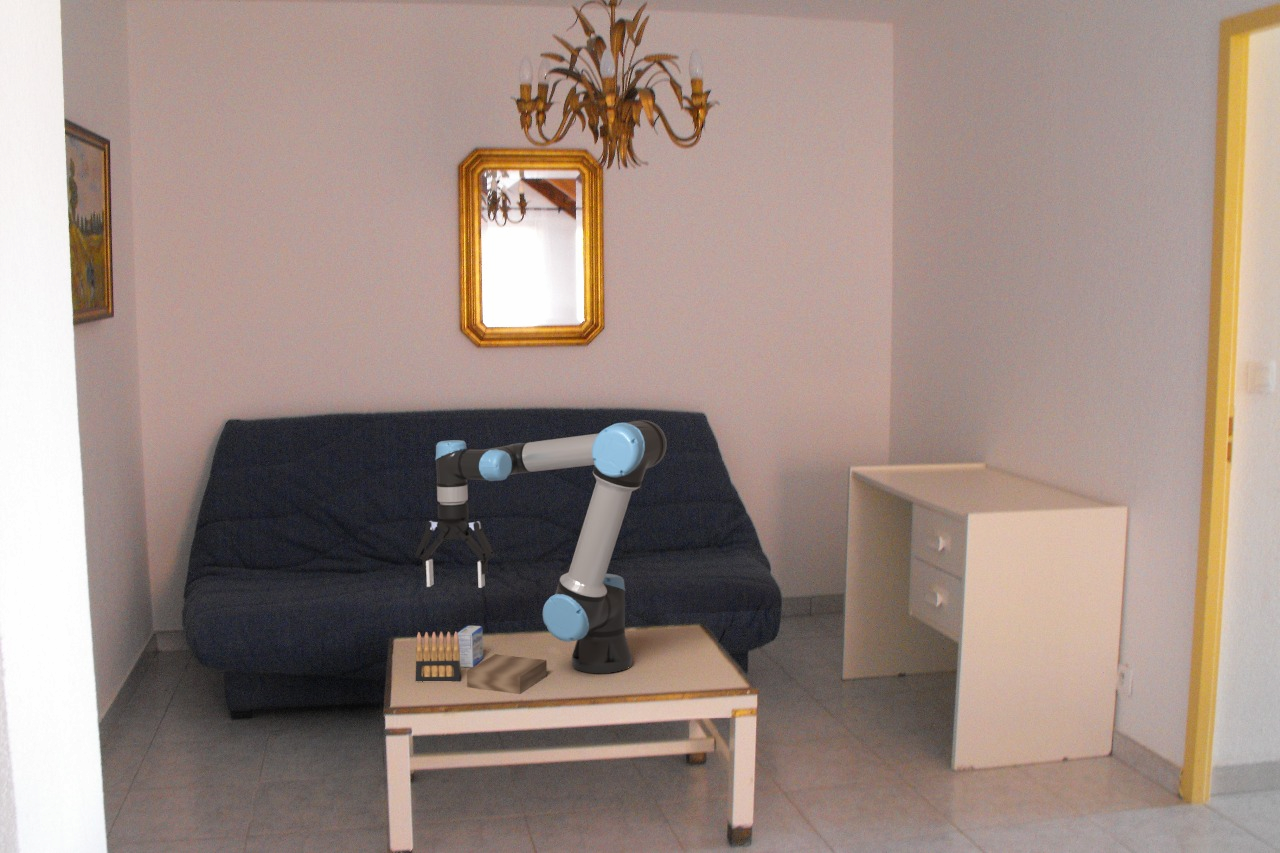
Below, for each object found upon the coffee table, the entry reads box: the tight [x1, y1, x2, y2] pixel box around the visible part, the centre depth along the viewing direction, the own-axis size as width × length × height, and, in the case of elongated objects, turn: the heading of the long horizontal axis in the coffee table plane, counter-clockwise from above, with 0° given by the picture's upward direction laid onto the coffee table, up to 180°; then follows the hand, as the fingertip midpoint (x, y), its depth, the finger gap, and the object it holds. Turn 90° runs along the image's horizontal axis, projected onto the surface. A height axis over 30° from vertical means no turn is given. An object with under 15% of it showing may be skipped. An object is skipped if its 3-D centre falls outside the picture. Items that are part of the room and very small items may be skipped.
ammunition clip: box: [415, 631, 462, 683], centre depth 269 cm, size 11×2×12 cm, turn 92°
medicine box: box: [457, 625, 484, 669], centre depth 283 cm, size 8×4×9 cm, turn 168°
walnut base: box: [466, 654, 548, 695], centre depth 268 cm, size 14×14×4 cm
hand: (455, 586), depth 282 cm, fingers open, 13 cm apart
